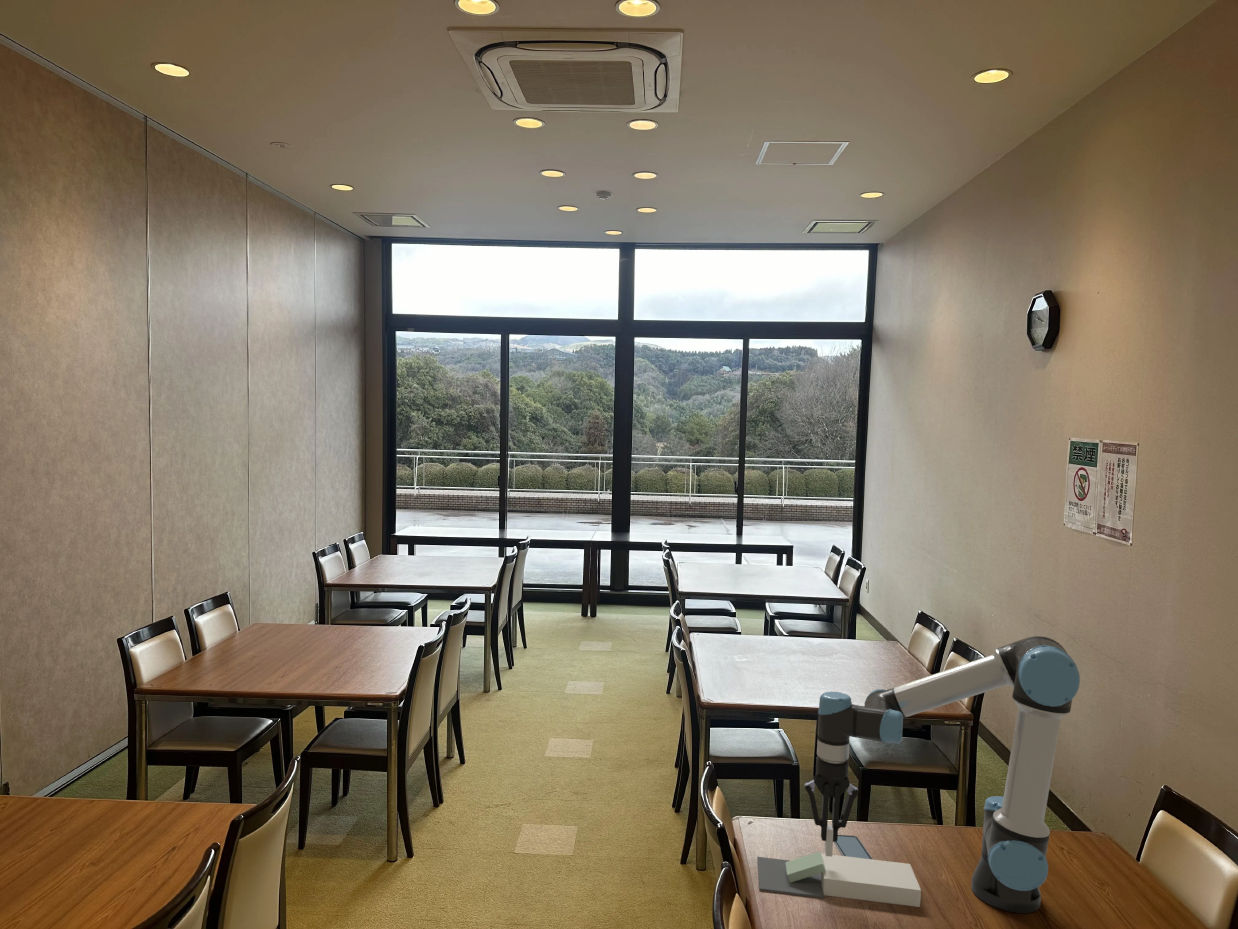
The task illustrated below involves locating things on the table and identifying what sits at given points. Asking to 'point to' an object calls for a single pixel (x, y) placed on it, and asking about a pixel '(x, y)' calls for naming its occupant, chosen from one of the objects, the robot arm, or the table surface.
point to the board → (870, 880)
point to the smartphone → (851, 847)
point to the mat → (786, 879)
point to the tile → (805, 867)
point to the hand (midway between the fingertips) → (828, 853)
